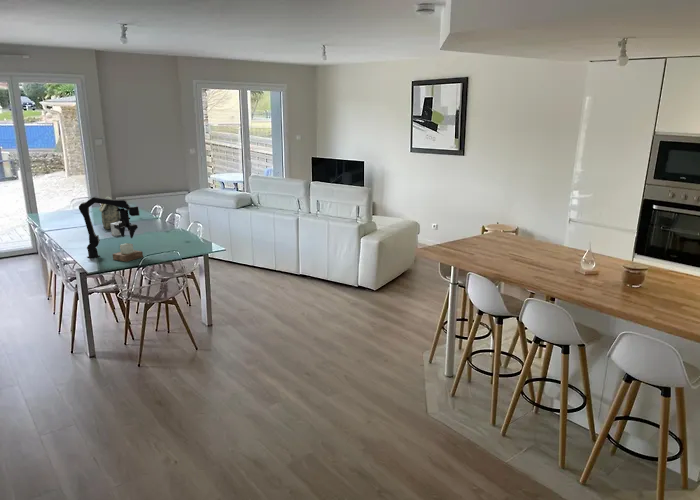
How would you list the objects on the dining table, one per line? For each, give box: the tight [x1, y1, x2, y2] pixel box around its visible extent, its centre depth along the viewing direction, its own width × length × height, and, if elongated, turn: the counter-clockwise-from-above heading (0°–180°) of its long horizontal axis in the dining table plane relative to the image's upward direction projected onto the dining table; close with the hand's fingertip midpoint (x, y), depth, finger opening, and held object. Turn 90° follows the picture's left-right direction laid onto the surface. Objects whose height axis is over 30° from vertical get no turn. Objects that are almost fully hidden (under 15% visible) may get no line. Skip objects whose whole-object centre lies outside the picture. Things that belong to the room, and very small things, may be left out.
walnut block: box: [112, 249, 144, 263], centre depth 363 cm, size 14×14×4 cm
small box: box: [110, 222, 122, 237], centre depth 434 cm, size 8×6×10 cm
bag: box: [98, 195, 120, 230], centre depth 463 cm, size 22×16×27 cm
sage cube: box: [119, 242, 135, 254], centre depth 362 cm, size 6×6×6 cm
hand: (127, 237), depth 373 cm, fingers open, 9 cm apart
